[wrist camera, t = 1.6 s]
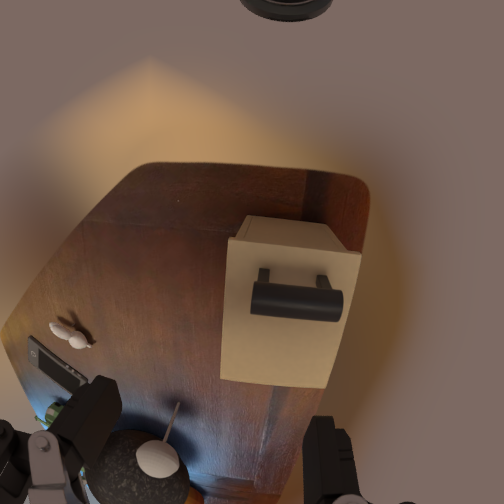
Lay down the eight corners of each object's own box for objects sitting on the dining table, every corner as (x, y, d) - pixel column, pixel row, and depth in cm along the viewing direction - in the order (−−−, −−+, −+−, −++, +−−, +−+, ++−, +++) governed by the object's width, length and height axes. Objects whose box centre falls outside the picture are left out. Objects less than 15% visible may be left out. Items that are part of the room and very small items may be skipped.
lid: (229, 236, 19) (213, 263, 14) (359, 251, 19) (386, 282, 14) (221, 373, 23) (209, 419, 18) (324, 383, 22) (332, 429, 17)
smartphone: (88, 379, 42) (86, 381, 41) (84, 400, 44) (82, 402, 44) (29, 334, 41) (27, 336, 40) (30, 359, 43) (28, 360, 43)
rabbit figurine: (84, 351, 40) (44, 331, 35) (91, 331, 42) (52, 310, 37) (93, 357, 36) (47, 335, 32) (101, 334, 38) (56, 311, 33)
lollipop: (196, 394, 40) (171, 471, 26) (198, 416, 42) (176, 488, 28) (159, 387, 40) (125, 458, 26) (163, 409, 42) (135, 477, 28)
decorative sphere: (108, 440, 49) (75, 502, 30) (108, 393, 43) (59, 472, 24) (188, 473, 49) (169, 542, 30) (210, 435, 43) (187, 528, 24)
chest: (246, 214, 31) (229, 248, 19) (326, 224, 31) (357, 262, 19) (238, 304, 35) (221, 373, 23) (310, 312, 34) (324, 382, 22)
